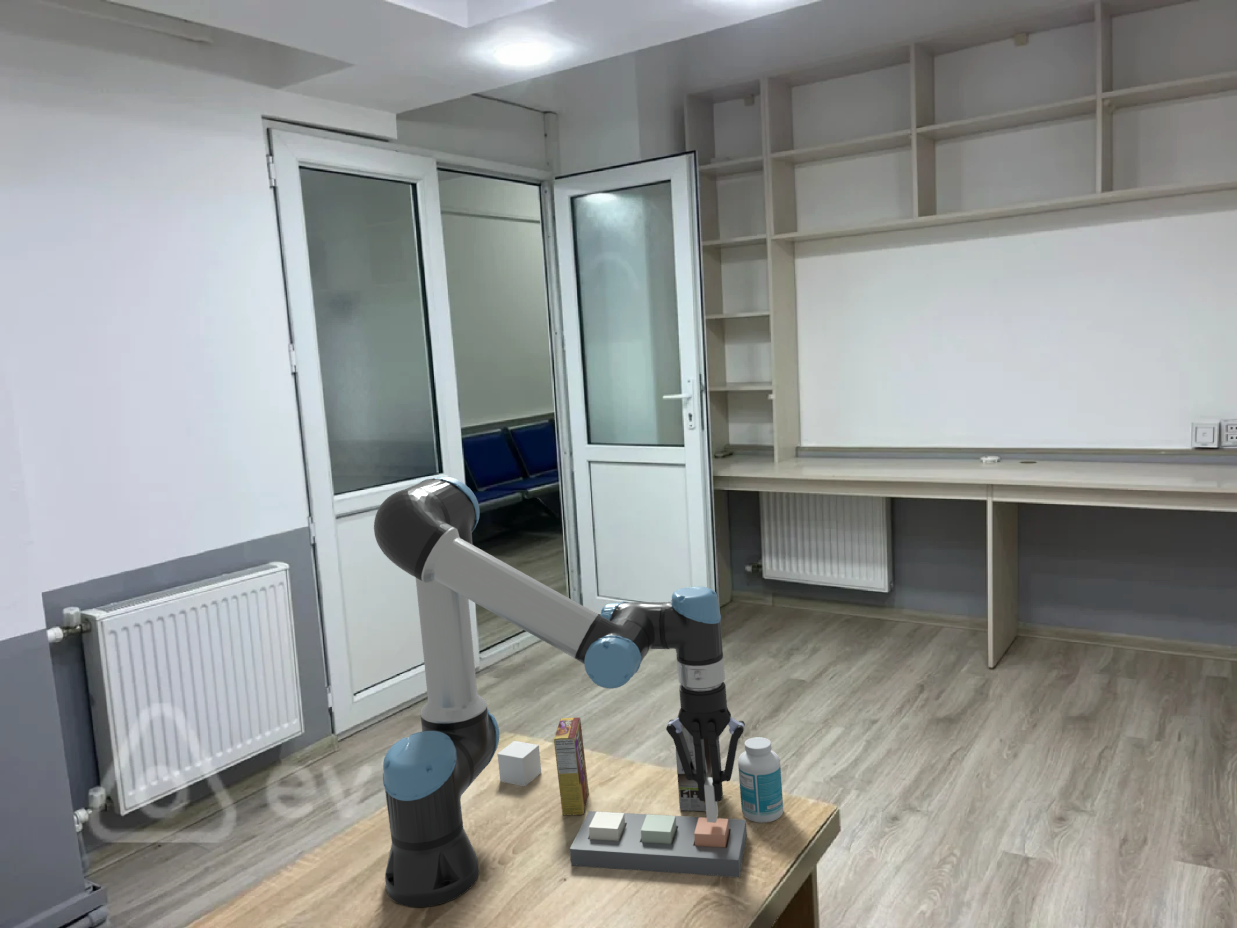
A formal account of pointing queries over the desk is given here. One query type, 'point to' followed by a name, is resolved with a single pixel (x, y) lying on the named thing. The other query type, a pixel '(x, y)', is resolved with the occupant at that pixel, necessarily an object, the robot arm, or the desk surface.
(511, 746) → the white cube
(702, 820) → the terracotta key
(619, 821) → the cream key
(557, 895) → the desk surface
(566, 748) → the candy box
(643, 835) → the sage key
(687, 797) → the coffee box
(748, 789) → the pill bottle
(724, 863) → the keypad
